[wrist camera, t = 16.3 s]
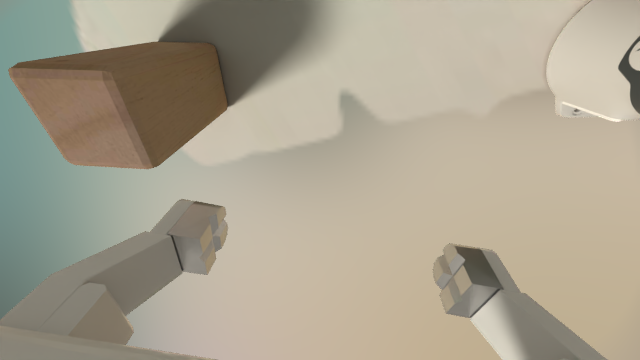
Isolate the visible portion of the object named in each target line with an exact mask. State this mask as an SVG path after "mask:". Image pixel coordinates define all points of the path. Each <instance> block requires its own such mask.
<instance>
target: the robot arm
mask: <svg viewBox="0 0 640 360" xmlns="http://www.w3.org/2000/svg"><path fill="white" fill-rule="evenodd" d="M546 76H547V82H548V85H549V87H550V89H551V90H552V92H553V94H554V96H555V98H556V99H555V112H556V114H557V115H558V116H562V117H602V118H605V119H607V120H610V121H615V122H620V121H621V120H640V0H592V1H590V2H589V3H588V4H587V5H585V6H584V7H583V8H582V9H581V10H580V11H579V12H578V13H577V14H576V15H575V16H574V17H573V18H572V19H571V20H570V22H569V23H568V24H567V25H566V26H565V28H564V29H563V30H562V32H561V33H560V35H559V36H558V38H557V40H556V42H555V43H554V45H553V48H552V50H551V52H550V55H549V58H548V62H547V69H546ZM575 108H576V110H575ZM225 216H226V210H225V207H223V206H218V205H213V204H208V203H203V202H197V201H190V200H185V199H181V200H179V201H177V202H176V203H175V204H174V206H173V207H172V208H171V209H170V210H169V211H168V212H167V213H166V214H165V215H164V217H163V218H162V219H161V220H160V221H159V222H158V223H157V224H156V226H155V227H154V228H153V229H152V230H151V231H150V232H146V231H145V232H143V233H141V234H138V235H136V236H134V237H132V238H130V239H128V240H125V241H123V242H121V243H119V244H117V245H114V246H112V247H110V248H108V249H106V250H104V251H102V252H99V253H97V254H95V255H93V256H90V257H88V258H86V259H84V260H82V261H79V262H77V263H75V264H73V265H71V266H69V267H66V268H64V269H62V270H60V271H58V272H55V273H53V274H51V275H50V276H49V277H48V278H47V279H45V280H44V281H43V282H42V283H41V284H40V285H39V286H38V287H36V288H35V289H34V290H33V291H32V292H31V293H30V294H29V295H27V296H26V297H25V298H24V299H23V300H22V301H21V302H20V303H19V304H17V305H16V306H15V307H14V308H13V309H12V310H11V311H9V312H8V313H7V314H6V315H5V316H4V317H3V318H2V319H0V360H216V359H210V358H203V357H197V356H190V355H184V354H178V353H172V352H165V351H159V350H152V349H146V348H140V347H134V346H128V345H126V344H127V342H128V340H129V339H130V337H131V336H132V334H133V333H134V331H133V327H132V325H131V324H130V322H129V321H128V319H127V318H126V315H127V314H129V313H130V312H131V311H133V310H134V309H135V308H137V307H138V306H139V305H141V304H142V303H143V302H145V301H146V300H147V299H149V298H150V297H151V296H153V295H154V294H155V293H157V292H158V291H159V290H161V289H162V288H163V287H165V286H166V285H167V284H169V283H170V282H171V281H173V280H174V279H175V278H177V277H178V276H179V275H180V274H182V272H189V273H197V274H204V275H207V274H208V273H209V271H210V269H211V267H212V265H213V263H214V262H215V260H216V255H215V252H216V251H218V250H220V249H221V248H222V246H223V244H224V242H225V240H226V236H227V230H228V226H227V222H226V221H225V220H224V217H225ZM443 252H444V255H442V256H440V257H438V258H437V259H436V261H435V263H434V267H433V275H434V279H435V283H436V284H437V285H438V286H439V287H440V288H441V289H442V290H441V293H440V297H441V301H442V304H443V307H444V310H445V312H446V314H451V315H456V316H462V317H468V318H471V319H470V320H471V321H472V323H473V324H474V325H475V326H476V328H477V329H478V330H479V331H480V333H481V334H482V335H483V336H484V337H485V339H486V340H487V341H488V342H489V344H490V345H491V346H492V347H493V348H494V350H495V351H496V352H497V353H498V355H499V356H500V357H501V358H502V360H607V359H606V358H604V357H603V356H602V355H601V354H600V353H598V352H597V351H596V350H595V349H593V348H592V347H591V346H590V345H588V344H587V343H586V342H585V341H583V340H582V339H581V338H580V337H578V336H577V335H576V334H575V333H574V332H573V331H571V330H570V329H569V328H568V327H566V326H565V325H564V324H563V323H561V322H560V321H559V320H558V319H556V318H555V317H554V316H553V315H551V314H550V313H549V312H548V311H547V310H545V309H544V308H543V307H542V306H540V305H539V304H538V303H537V302H536V301H534V300H533V299H532V298H531V297H529V296H528V295H527V294H525V293H521V292H520V290H519V289H518V287H517V285H516V284H515V282H514V281H513V279H512V278H511V276H510V274H509V273H508V271H507V270H506V268H505V266H504V265H503V263H502V262H501V260H500V258H499V257H498V255H497V254H496V253H495V252H494V251H493V250H489V249H483V248H475V247H469V246H462V245H457V244H450V243H449V244H448V245H446V246H445V247H444V249H443Z"/></svg>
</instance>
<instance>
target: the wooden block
mask: <svg viewBox="0 0 640 360" xmlns="http://www.w3.org/2000/svg"><path fill="white" fill-rule="evenodd" d="M9 75H10V78H11V79H12V81H13V82H14V83H15V85H16V86H17V88H18V89H19V91H20V93H21V94H22V95H23V97H24V98H25V100H26V101H27V103H28V104H29V106H30V107H31V109H32V110H33V112H34V113H35V115H36V116H37V118H38V119H39V121H40V122H41V124H42V125H43V127H44V128H45V130H46V131H47V133H48V134H49V135H50V137H51V139H52V140H53V142H54V143H55V145H56V146H57V148H58V149H59V151H60V152H61V154H62V155H63V157H64V158H65V159H66V160H67V161H68V162H70V163H72V164H74V165H84V166H101V167H120V168H136V169H150V168H154V167H157V166H159V165H160V164H161V163H162V162H164V161H165V160H166V159H167V158H169V157H170V156H171V155H172V154H173V153H175V152H176V151H177V150H178V149H180V148H181V147H182V146H183V145H184V144H186V143H187V142H188V141H189V140H190V139H192V138H193V137H194V136H195V135H197V134H198V133H199V132H200V131H201V130H203V129H204V128H205V127H206V126H208V125H209V124H210V123H211V122H212V121H214V120H215V119H216V118H217V117H219V116H220V115H221V114H222V113H223V112H225V111H226V110H227V106H228V105H227V99H226V95H225V90H224V85H223V80H222V75H221V70H220V65H219V61H218V56H217V51H216V48H215V46H213V45H211V44H209V43H189V42H150V43H143V44H137V45H130V46H124V47H117V48H111V49H104V50H98V51H91V52H85V53H79V54H72V55H66V56H59V57H53V58H46V59H40V60H33V61H27V62H20V63H17V64H16V65H15V66H13V67H11V68H10V69H9Z"/></svg>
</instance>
